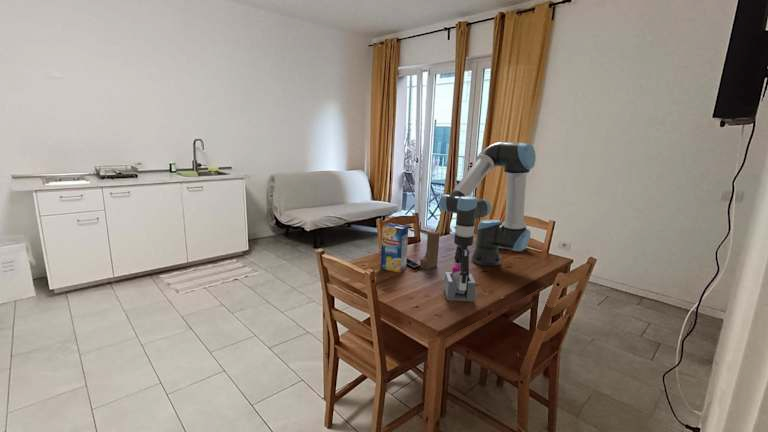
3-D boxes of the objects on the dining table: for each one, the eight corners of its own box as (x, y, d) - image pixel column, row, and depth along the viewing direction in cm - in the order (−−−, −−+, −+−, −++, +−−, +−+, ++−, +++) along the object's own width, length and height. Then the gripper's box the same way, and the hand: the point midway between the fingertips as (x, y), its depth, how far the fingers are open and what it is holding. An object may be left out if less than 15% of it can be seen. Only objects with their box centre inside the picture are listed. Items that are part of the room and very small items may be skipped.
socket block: (469, 290, 161) (470, 273, 160) (474, 301, 151) (476, 283, 149) (443, 289, 162) (445, 271, 160) (447, 299, 151) (448, 281, 149)
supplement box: (466, 290, 159) (469, 265, 156) (463, 295, 153) (466, 269, 151) (453, 288, 161) (455, 263, 158) (450, 292, 155) (452, 267, 153)
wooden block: (426, 270, 184) (429, 235, 180) (419, 267, 187) (421, 233, 183) (437, 266, 190) (440, 232, 187) (430, 263, 193) (432, 230, 190)
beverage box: (400, 272, 179) (402, 228, 174) (380, 268, 184) (382, 225, 179) (406, 268, 185) (408, 226, 180) (386, 264, 190) (388, 222, 185)
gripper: (450, 227, 163) (446, 272, 167) (459, 242, 139) (455, 295, 143) (467, 227, 163) (463, 273, 167) (480, 243, 138) (474, 296, 143)
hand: (459, 283), depth 155 cm, fingers open, 13 cm apart
